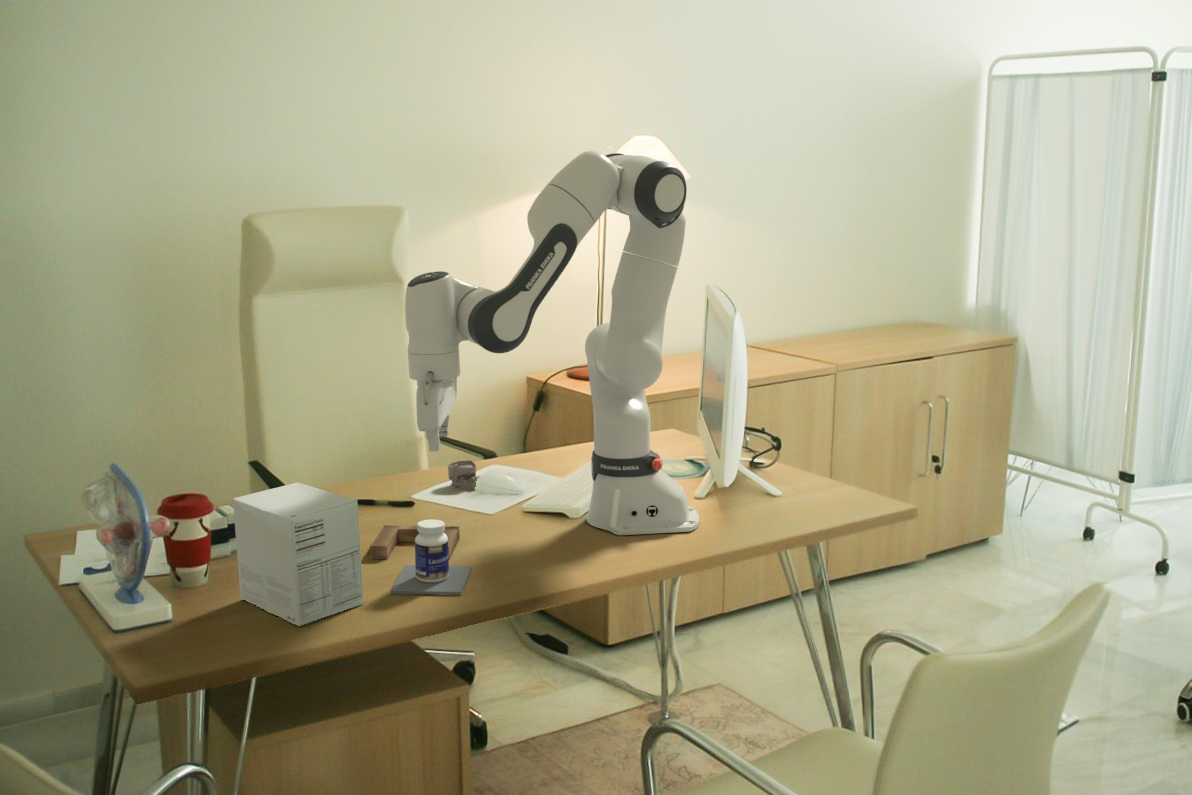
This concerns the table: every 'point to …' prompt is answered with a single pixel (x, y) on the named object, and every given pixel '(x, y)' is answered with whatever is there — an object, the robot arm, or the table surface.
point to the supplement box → (298, 552)
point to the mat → (449, 586)
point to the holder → (406, 539)
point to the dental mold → (463, 475)
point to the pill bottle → (431, 551)
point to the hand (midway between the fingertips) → (439, 443)
